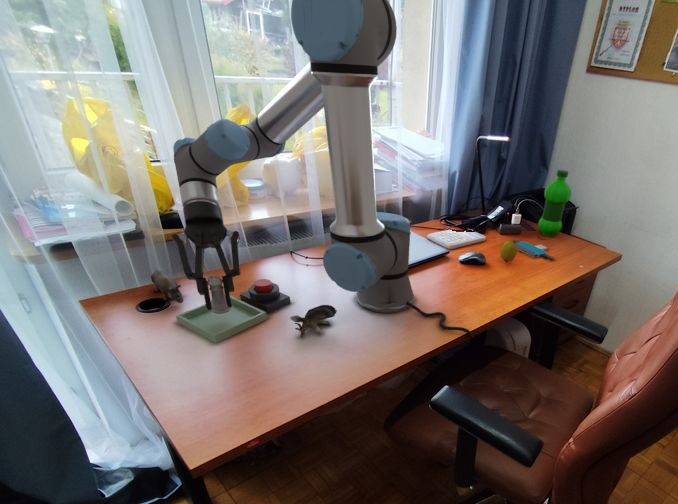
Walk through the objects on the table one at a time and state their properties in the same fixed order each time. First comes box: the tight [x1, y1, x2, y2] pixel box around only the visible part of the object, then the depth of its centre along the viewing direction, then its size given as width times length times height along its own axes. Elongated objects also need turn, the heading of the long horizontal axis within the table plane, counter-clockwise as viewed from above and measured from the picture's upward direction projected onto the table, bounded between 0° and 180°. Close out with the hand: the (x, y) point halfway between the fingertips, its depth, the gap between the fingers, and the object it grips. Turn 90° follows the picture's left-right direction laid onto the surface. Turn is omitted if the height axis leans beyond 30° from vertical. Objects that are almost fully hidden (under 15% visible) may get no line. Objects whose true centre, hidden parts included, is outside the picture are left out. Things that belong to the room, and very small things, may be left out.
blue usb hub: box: [512, 239, 554, 261], centre depth 157 cm, size 20×12×2 cm, turn 38°
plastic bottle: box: [537, 169, 572, 237], centre depth 168 cm, size 10×10×25 cm
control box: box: [239, 282, 292, 314], centre depth 105 cm, size 10×7×4 cm
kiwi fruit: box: [499, 240, 518, 264], centre depth 142 cm, size 6×6×8 cm
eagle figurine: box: [290, 304, 338, 338], centre depth 96 cm, size 8×7×9 cm
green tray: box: [175, 295, 268, 344], centre depth 97 cm, size 13×13×2 cm
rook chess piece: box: [207, 274, 232, 314], centre depth 93 cm, size 4×4×8 cm
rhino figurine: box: [150, 269, 184, 304], centre depth 101 cm, size 4×14×6 cm, turn 49°
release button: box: [253, 278, 273, 293], centre depth 103 cm, size 4×4×2 cm
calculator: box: [426, 229, 487, 250], centre depth 158 cm, size 13×20×2 cm, turn 133°
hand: (219, 306), depth 91 cm, fingers closed on rook chess piece, 3 cm apart
